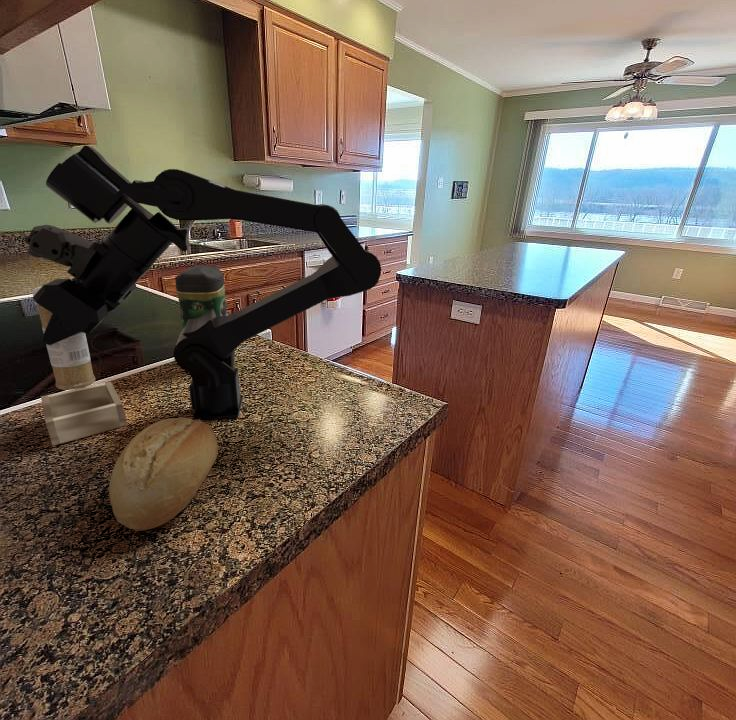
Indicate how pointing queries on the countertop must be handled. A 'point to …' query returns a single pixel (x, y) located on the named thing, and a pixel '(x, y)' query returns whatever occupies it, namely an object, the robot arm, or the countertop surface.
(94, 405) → the guard collar
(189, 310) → the coffee jar
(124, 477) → the bread roll
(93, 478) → the countertop surface
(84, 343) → the sprinkles bottle
